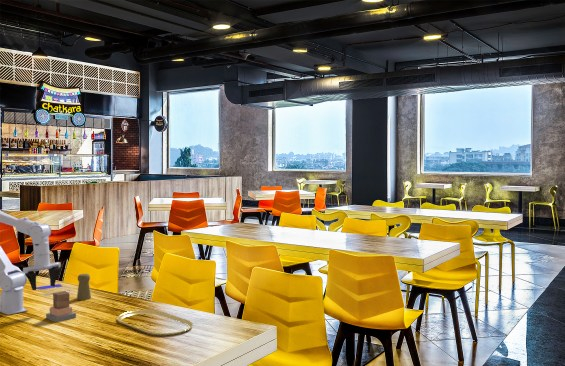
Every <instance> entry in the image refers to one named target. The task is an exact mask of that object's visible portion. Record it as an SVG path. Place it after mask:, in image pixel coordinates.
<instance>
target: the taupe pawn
mask: <svg viewBox="0 0 565 366" xmlns="http://www.w3.org/2000/svg"><path fill="white" fill-rule="evenodd" d="M90 279H91V275H90V274H88V273H81V274H79V275H78V276H77V281H78V287H77V295H76V300H78V301H87V300H91V299H92V294H91V289H90V288H91V287H90Z"/></svg>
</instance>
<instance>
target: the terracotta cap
mask: <svg viewBox="0 0 565 366" xmlns="http://www.w3.org/2000/svg"><path fill="white" fill-rule="evenodd" d="M72 312H73V306H70V305H69V307H66V308H61V309H57V308H55V307H53V306H50V307H49V313H50V314H52V315H55V316H57V317H58V316H62V315H67V314H71V313H72Z"/></svg>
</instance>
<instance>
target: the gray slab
mask: <svg viewBox="0 0 565 366" xmlns="http://www.w3.org/2000/svg"><path fill="white" fill-rule="evenodd" d="M76 318H77V313H76V312H74V311H72V313H71V314H67V315H62V316H58V317H57V316H55V315H52V314H50V312H48V313H45V319H47V320H49V321H52V322H54V323H60V322H64V321H68V320H73V319H76Z"/></svg>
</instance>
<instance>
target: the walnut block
mask: <svg viewBox="0 0 565 366" xmlns="http://www.w3.org/2000/svg"><path fill="white" fill-rule="evenodd" d="M66 291H67V290H66ZM66 291H65V290H61V291H56V292H53V294H52V304H53V306H52V307H55V308H57V309H61V308H66V307H69V306H70V292H66Z"/></svg>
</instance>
